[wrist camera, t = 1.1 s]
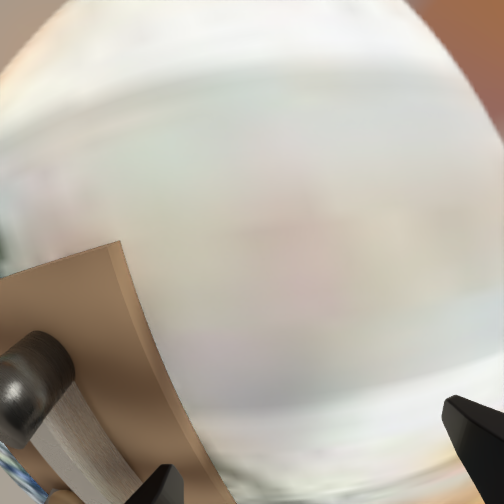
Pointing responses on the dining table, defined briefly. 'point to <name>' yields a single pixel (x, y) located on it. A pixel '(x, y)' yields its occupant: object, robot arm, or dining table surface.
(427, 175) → the dining table surface
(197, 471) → the base
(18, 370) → the lever
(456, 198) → the dining table surface
